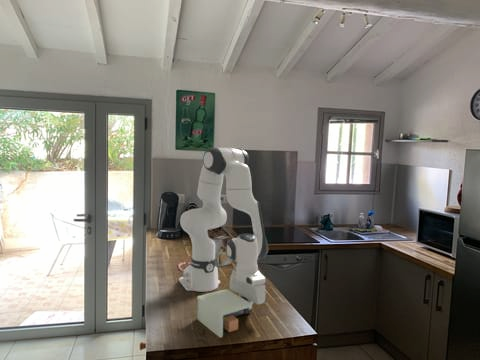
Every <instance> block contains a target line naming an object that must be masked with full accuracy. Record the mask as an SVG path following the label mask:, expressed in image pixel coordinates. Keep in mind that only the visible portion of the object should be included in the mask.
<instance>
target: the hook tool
mask: <svg viewBox="0 0 480 360" xmlns="http://www.w3.org/2000/svg"><path fill="white" fill-rule="evenodd" d="M241 298H243V299H244V300H246V301H248V299H247V298H245V297H241ZM249 313H252V309H250V310H249V309H248V308H246V309H243V310H239V311H236V312H233V313H229V314H226V315H223V320H224V317H228V316H231V315H233V316H234V317H237V316H238V317H239V316H240V315H243V314H245V315H246V314H249Z"/></svg>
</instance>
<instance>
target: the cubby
mask: <svg viewBox="0 0 480 360" xmlns="http://www.w3.org/2000/svg"><path fill="white" fill-rule="evenodd" d="M249 307H252V308H253V305H252V304H251V303H250V302H248V301H246V300H244V299H243V298H241V297H239V294H238V295H237V294H236V293H235V292H234V291H231V290H229V289H227V288H225V289H222V290H218V291H217V290H216V291H214V292H209V293H206V294H202V295H198V296H197V297H196V320H198V321H199V323H201V324H202V325H204V327H207V329H209V331H211V332H212V333H214V334H215V335H216V336H217V337H218V338H220V339H221V338H223V336H224V328H223V315H226V314H229V313H233V312H236V311H239V310H243V309H246V308H249Z"/></svg>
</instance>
